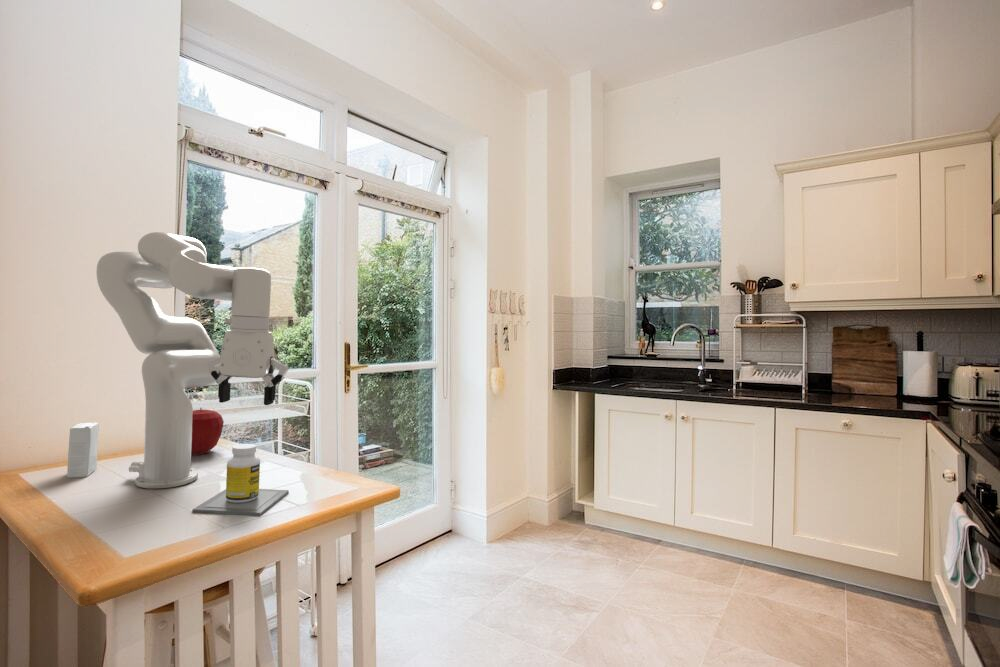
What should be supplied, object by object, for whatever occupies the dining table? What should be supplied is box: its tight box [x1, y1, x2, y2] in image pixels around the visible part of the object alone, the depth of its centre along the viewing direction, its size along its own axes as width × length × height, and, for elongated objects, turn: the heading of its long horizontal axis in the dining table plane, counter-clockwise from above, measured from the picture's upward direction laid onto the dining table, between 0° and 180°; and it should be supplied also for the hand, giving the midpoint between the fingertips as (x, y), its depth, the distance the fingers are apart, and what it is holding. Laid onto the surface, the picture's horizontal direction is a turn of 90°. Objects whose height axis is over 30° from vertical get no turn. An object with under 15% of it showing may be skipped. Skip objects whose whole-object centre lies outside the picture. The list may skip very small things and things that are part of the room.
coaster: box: [191, 488, 290, 517], centre depth 112 cm, size 14×14×1 cm
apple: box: [191, 407, 225, 456], centre depth 148 cm, size 12×12×13 cm
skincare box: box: [66, 422, 100, 479], centre depth 125 cm, size 6×4×12 cm
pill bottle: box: [225, 443, 261, 503], centre depth 111 cm, size 6×6×12 cm
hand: (246, 402), depth 111 cm, fingers open, 9 cm apart
